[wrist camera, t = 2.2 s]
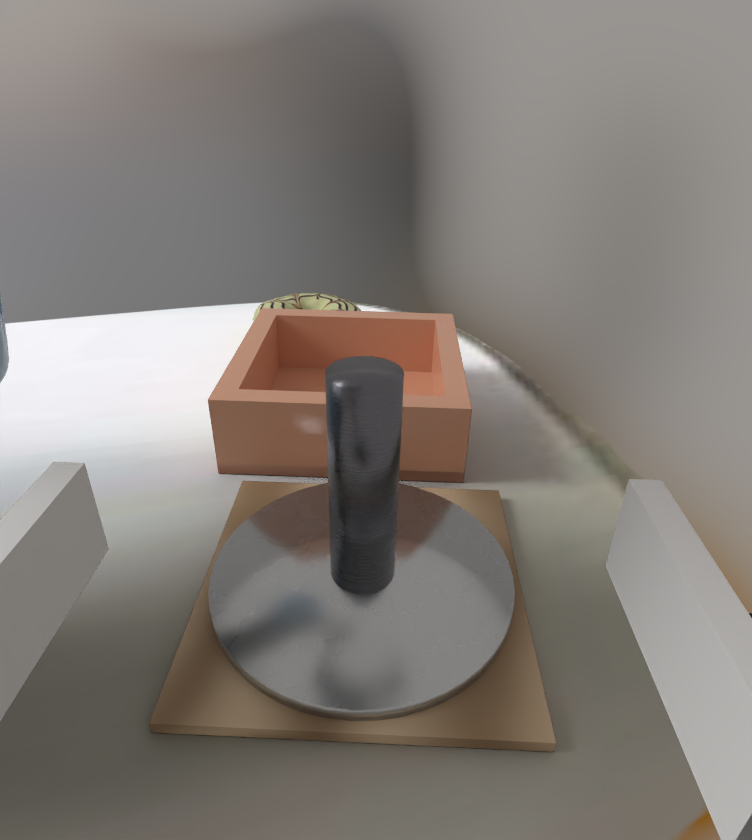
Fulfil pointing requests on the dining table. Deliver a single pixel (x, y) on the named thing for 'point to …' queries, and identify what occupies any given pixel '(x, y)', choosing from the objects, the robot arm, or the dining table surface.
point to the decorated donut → (308, 303)
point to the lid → (361, 575)
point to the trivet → (438, 726)
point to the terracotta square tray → (306, 393)
